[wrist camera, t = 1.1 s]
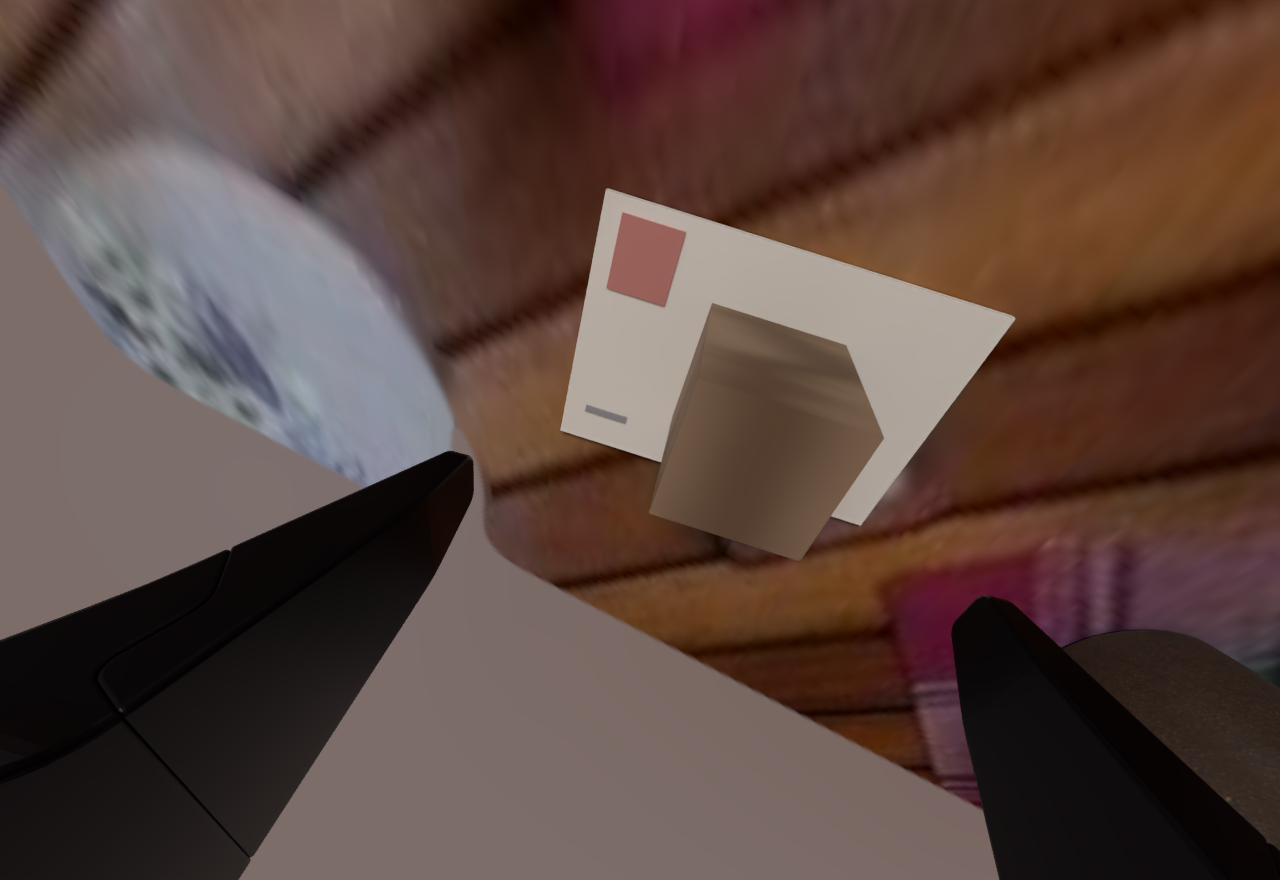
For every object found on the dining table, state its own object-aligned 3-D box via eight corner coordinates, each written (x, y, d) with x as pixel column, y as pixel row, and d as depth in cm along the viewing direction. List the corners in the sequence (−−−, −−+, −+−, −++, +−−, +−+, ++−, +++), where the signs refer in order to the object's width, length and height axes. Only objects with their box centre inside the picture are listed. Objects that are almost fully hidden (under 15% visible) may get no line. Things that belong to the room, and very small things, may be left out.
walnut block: (846, 345, 17) (884, 438, 13) (787, 452, 20) (799, 561, 15) (712, 302, 17) (698, 379, 13) (672, 415, 20) (648, 513, 15)
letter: (1011, 315, 16) (1016, 319, 16) (859, 521, 22) (861, 527, 22) (608, 188, 16) (605, 189, 16) (562, 426, 22) (559, 431, 22)
